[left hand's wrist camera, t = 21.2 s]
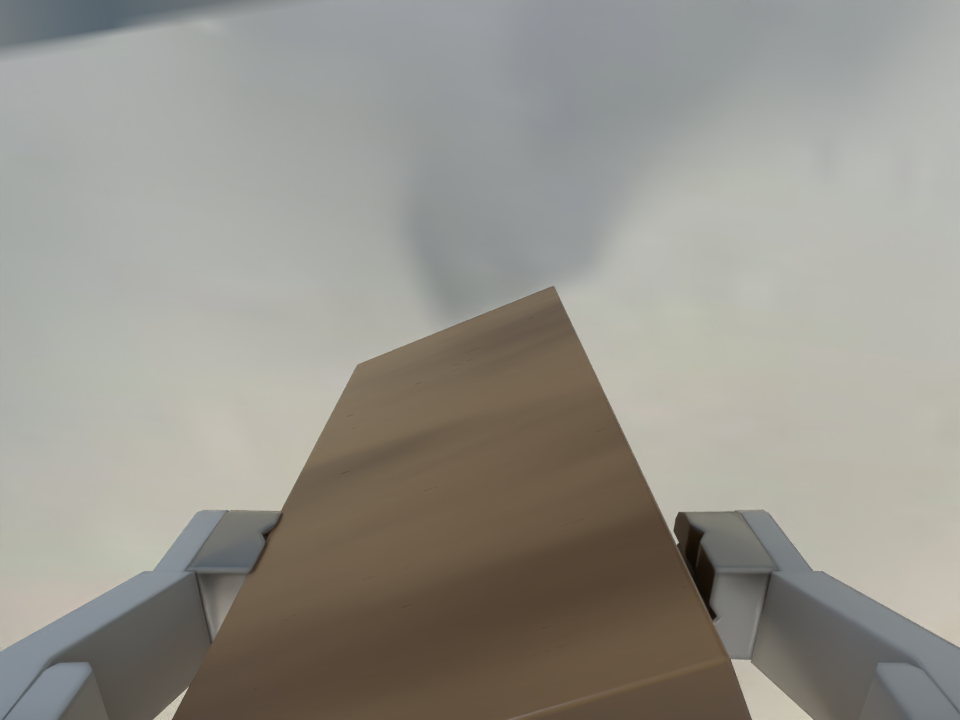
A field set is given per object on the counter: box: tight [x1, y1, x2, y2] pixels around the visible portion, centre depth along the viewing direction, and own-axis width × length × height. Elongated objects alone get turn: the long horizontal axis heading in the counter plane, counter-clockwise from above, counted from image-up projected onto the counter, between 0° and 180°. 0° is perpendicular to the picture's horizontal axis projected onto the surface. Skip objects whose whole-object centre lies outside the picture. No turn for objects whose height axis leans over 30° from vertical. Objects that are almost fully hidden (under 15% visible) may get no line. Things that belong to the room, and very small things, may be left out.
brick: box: [172, 286, 752, 720], centre depth 11 cm, size 4×6×12 cm
